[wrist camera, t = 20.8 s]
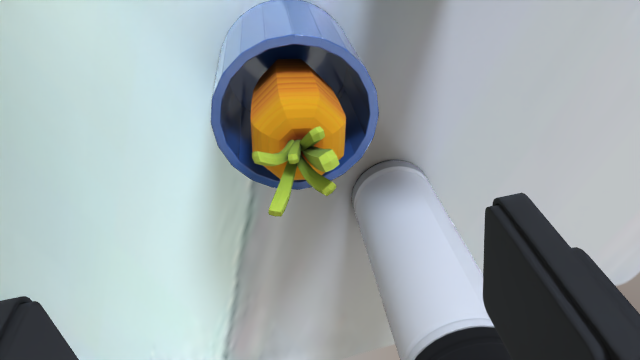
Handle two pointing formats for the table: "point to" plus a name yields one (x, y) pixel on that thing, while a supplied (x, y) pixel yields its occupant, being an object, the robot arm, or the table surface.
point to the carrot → (296, 128)
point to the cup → (288, 43)
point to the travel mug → (422, 268)
